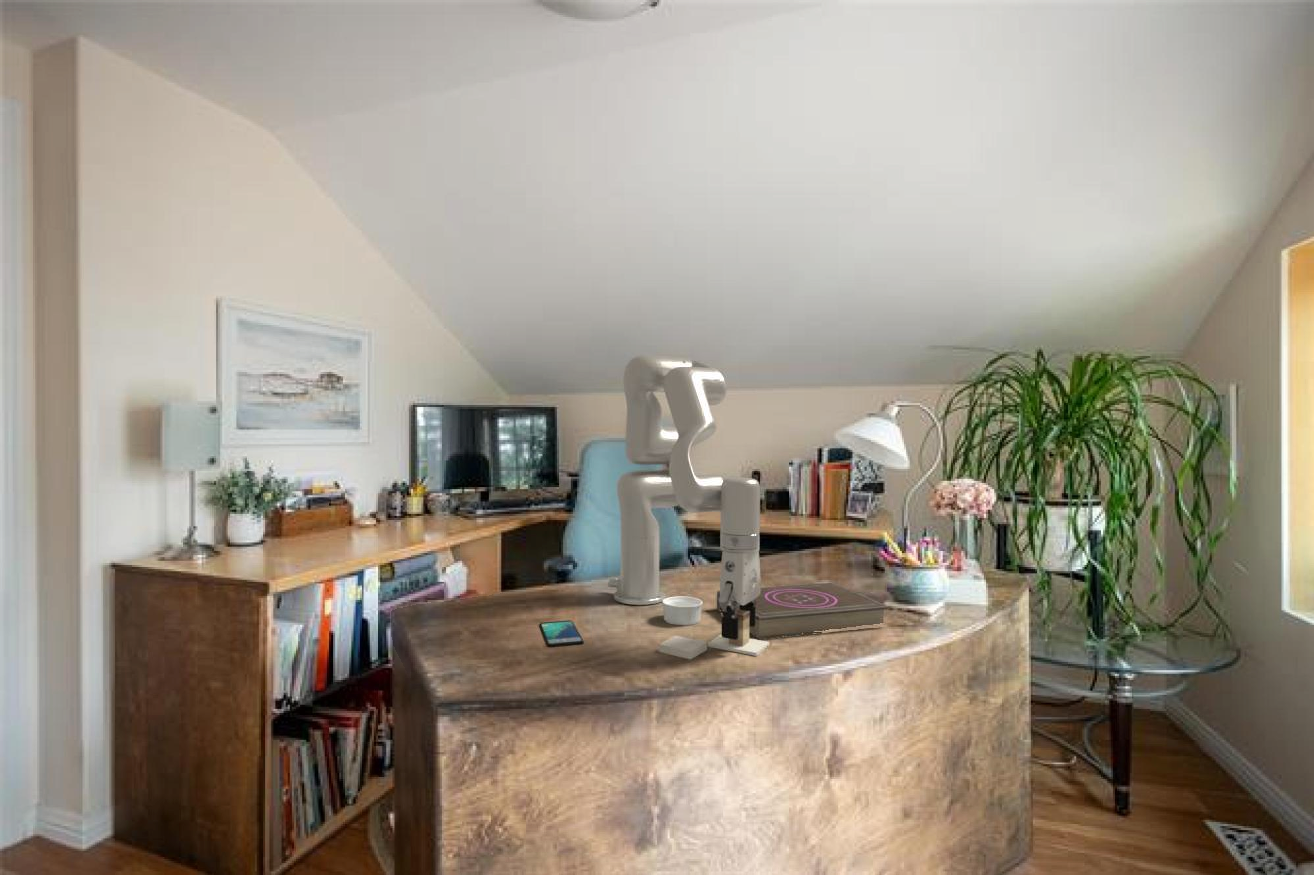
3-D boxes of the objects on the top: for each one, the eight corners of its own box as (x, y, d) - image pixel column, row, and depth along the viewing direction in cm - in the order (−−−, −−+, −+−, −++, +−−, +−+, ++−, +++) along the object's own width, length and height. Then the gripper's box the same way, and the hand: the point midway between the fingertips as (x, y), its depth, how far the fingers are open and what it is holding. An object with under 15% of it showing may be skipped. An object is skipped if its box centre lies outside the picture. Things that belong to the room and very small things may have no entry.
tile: (658, 644, 119) (690, 651, 115) (675, 635, 124) (706, 642, 120) (658, 653, 119) (690, 661, 116) (675, 644, 124) (706, 651, 120)
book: (758, 642, 126) (759, 617, 126) (716, 611, 148) (716, 590, 148) (888, 629, 135) (889, 606, 135) (831, 602, 157) (831, 582, 157)
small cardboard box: (728, 643, 122) (728, 612, 122) (734, 639, 125) (735, 608, 125) (743, 646, 121) (743, 615, 121) (749, 641, 123) (749, 611, 123)
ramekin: (660, 615, 143) (660, 595, 143) (699, 614, 144) (699, 595, 144) (664, 627, 134) (664, 607, 134) (705, 626, 135) (705, 606, 135)
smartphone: (547, 645, 121) (539, 622, 135) (547, 649, 121) (539, 625, 135) (584, 642, 123) (572, 619, 137) (584, 646, 123) (572, 623, 137)
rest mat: (707, 646, 122) (707, 643, 122) (722, 636, 128) (722, 633, 128) (756, 656, 117) (756, 652, 117) (769, 645, 123) (769, 641, 123)
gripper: (740, 551, 113) (739, 648, 113) (773, 537, 128) (772, 622, 129) (702, 546, 117) (701, 641, 117) (738, 533, 132) (738, 617, 132)
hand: (738, 631), depth 123 cm, fingers open, 8 cm apart
